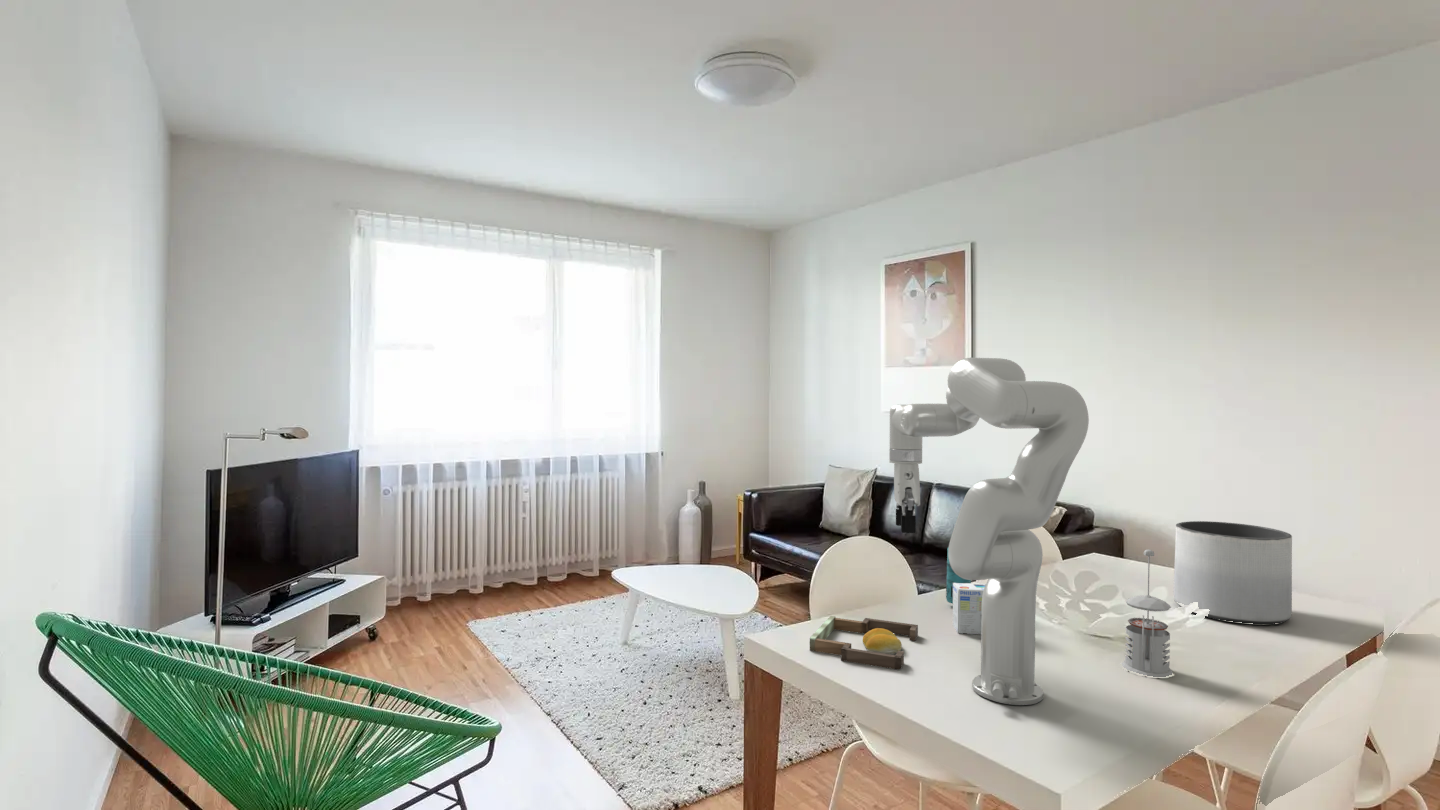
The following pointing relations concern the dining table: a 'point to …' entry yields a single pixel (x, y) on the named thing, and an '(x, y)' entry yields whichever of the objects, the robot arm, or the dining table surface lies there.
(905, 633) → the frame
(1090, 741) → the dining table surface
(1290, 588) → the planter
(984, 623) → the robot arm
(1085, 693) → the dining table surface
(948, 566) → the beverage bottle
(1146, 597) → the french press
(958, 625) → the light bulb box
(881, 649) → the bread roll
